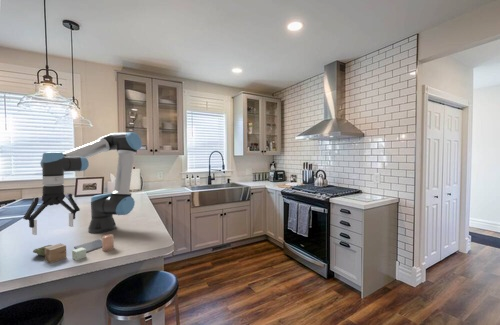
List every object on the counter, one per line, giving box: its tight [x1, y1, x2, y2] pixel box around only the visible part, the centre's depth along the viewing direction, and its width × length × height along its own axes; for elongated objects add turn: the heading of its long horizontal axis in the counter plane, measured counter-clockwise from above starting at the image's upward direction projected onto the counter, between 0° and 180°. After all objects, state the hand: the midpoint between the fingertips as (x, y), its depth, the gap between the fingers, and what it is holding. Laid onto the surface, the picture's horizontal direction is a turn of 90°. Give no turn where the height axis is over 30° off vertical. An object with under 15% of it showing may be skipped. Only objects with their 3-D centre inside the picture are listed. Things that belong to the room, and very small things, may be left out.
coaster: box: [73, 239, 102, 254], centre depth 119 cm, size 12×12×1 cm
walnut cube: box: [44, 243, 67, 264], centre depth 105 cm, size 6×6×6 cm
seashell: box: [32, 244, 53, 257], centre depth 110 cm, size 10×7×10 cm
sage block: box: [71, 247, 87, 261], centre depth 106 cm, size 4×4×4 cm
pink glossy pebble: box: [101, 234, 115, 252], centre depth 115 cm, size 5×5×7 cm
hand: (53, 230), depth 105 cm, fingers open, 13 cm apart
